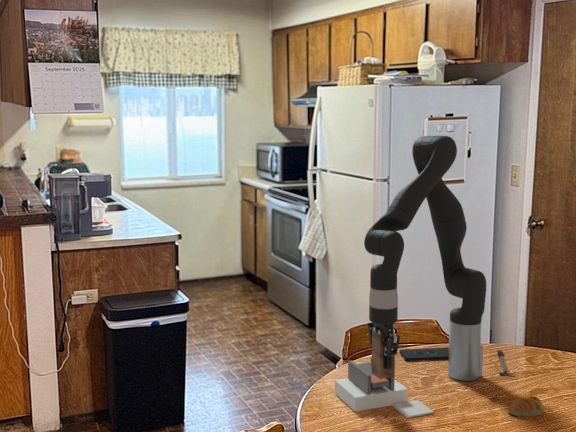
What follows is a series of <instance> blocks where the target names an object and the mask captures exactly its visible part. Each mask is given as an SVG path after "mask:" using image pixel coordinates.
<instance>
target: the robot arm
mask: <svg viewBox="0 0 576 432" xmlns="http://www.w3.org/2000/svg"><path fill="white" fill-rule="evenodd" d="M455 141H456V140H454V139H453V138H452V137H451V136H448V135H423V136H419V137H416V139H415V140H414V142H413V145H412V150H411V151H412V159H413V162H414V165H415V168H416V171H417V174H418V175H417V176H416V177H415V178H414V179H412V180H411V181H409V183H407V184H406V185H405V186H403V188H401V189H400V190H399V191H398V193H397V194H396V195H395V197H394V198H393V200H392V202H391V203H390V204H389V207H388V209H387V210H386V212H385V213H384V214H383V215H382V216H381V217H380V218H379V219H378V220H377V221H375V223H373V225H372V226H371V227H370V228H368V230H367V233H366V234H365V236H364V241H363V243H364V248H365V250H366V252H367V253H369V255H374V256H379V257H382V258H383V261H382V263H379V264H378V263H377V264H374V265H372V267H371V268H370V274H369V276H370V277H369V278H370V280H369V282H370V288H369V297H368V299H369V300H368V304H369V305H368V319H369V322H367V331H368V339H369V345H370V346H372V331H374V332H378V334H379V335H384V339H383V338H382V347H383V354H384V355H383V368H384V369H390V368H391V367H392V355H395V356H397V355H398V350H399V344H400V339H401V337H400V335H399V334H396V333H395V330H394V324H395V323H397V321H398V320H399V319H398V317H399V315H398V314H399V312H398V310H399V309H398V308H399V305H398V304H399V298H398V297H399V294H398V272H399V268H400V264H401V261H402V257H403V253H404V250H405V241H404V238H403V236H402V234H401V233H400V232H399V231H405V230H406V229H407V230H408V228H409V227H410V226H411V223H412V222H413V220H414V218H415V216H416V214H417V213H418V210H419V209H420V207H421V205H423V202H424V201H425V200H427V205H428V209H429V212H430V218H431V223H432V226H433V230H434V233H435V236H436V240H437V244H438V245H437V246H438V249H439V254H440V258H441V267H442V274H443V279H444V280H443V281H444V287H445V289H446V290H447V292H448V294H450V295H451V296H453V297H456V298H459V299H462V303H461V307H457V308H456V307H455V308H453V309H451V310H450V312H449V331H448V332H449V335H448V348H449V359H448V360H447V361H448V365H447V366H448V367H447V375H448V376H449V377H450V378H452V379H454V380H457V381H463V382H470V381H475V380H478V379H479V378H481V377H483V364H484V363H483V361H484V360H483V359H484V346H483V345H482V344H481V338H482V337H481V336H482V318H483V315H484V312H485V309H486V308H485V307H486V305H485V304H486V296H487V278H486V276H485V274H484V273H483V272H482V271H480V270H476V269H473V268H470V267H469V268H468V267H466V266H465V264H464V262H463V258H462V253H461V252H462V251H461V250H462V249H461V247H462V246H463V242H464V239H465V237H466V233H467V222H466V221H467V220H466V216H465V213H464V208H463V206H462V204H461V202H460V200H459V199H458V198H457V196H456V195H455V194H454V193H453V192H452V190H450V188H449V187H448V186H447V184H446V183H445V182H444V180H443V177H444V176H445V175H446V173H447V172H448V171H449V169H450V168H451V167H452V166H453V164H454V162H455V160H456V158H457V154H458V149H457V143H456V142H455ZM394 333H395V334H394ZM384 341H385V342H386V341H389V342H388V344H385V343H384ZM387 346H388V348H387V350H386V347H387ZM393 348H394V350H393Z"/></svg>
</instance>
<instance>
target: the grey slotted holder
mask: <svg viewBox="0 0 576 432" xmlns="http://www.w3.org/2000/svg"><path fill="white" fill-rule="evenodd" d="M347 362H348V363H347V378H345V377H344V378H341V379H335V380H334V394H335V395H336V396H337V397H338V398H339V399H341V401H342V402H344V403H345V404H346V405H347V406H348V407H349V408H350V409H351V410H353V412H362V411H363V412H364V411H367V410H368V411H369V410H373V409H378V408H385V407H391V406H392V404H398V403H404V402H408V395H409V394H408V391H409V390H408V388H407V387H405V386H404V385H403V384H402V383H400V382H399V381H397V380H396V379H395V377H396V375H395V376H394V377H388V378H386V379H387V380H388V381H389V386H384V387H377V388H372V387H371V375H370V374H369V373H368V372H366V371H365V370H364V369H362V368H361V367H360V366H358V365H357V364H358V363H356V362H355V361H353V360H348V361H347ZM370 364H371V365H372V356H371V357H370Z"/></svg>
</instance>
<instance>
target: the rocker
mask: <svg viewBox="0 0 576 432" xmlns="http://www.w3.org/2000/svg"><path fill="white" fill-rule="evenodd" d="M356 364H357V365H358V366H360V367H361V368H362V369H364V370H365V371H366V372H368V373H369V374H370V375H371V387H372V388H377V387H384V386H389V381H388V380H387V379H386V378H383V379H379V378H378V377H376V376H375V375H374V374H372V365H371V362H363V363H362V362H361V363H356Z"/></svg>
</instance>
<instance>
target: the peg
mask: <svg viewBox="0 0 576 432" xmlns="http://www.w3.org/2000/svg"><path fill="white" fill-rule="evenodd" d="M394 334H395V335H396V333H395V332H394ZM382 338H383V339H384V335H379V334H378V332H374V331H372V345H371V357H372V374H374V375H375V376H376V377H378V378H379V379H383V378H388V377H394V376H395V377H396V375H395V371H396V370H395V369H396V361H395V360H396V358H395V357H396V355H392V367H391V368H390V369H384V368H383V355H384V354H383V347H382ZM388 342H389V341H386V342H385V341H384V343H385V344H388ZM387 348H388V346H387V347H386V350H387ZM393 350H394V348H393Z"/></svg>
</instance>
